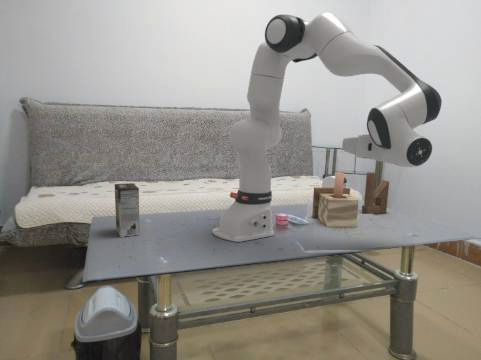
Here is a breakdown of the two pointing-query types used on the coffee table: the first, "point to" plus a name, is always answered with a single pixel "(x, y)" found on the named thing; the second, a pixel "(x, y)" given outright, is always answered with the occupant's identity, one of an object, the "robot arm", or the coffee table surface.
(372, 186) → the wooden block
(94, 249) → the coffee table surface
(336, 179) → the dowel
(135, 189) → the coffee box
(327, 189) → the jig
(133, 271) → the coffee table surface
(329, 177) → the panda figurine
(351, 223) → the socket block
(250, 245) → the coffee table surface
